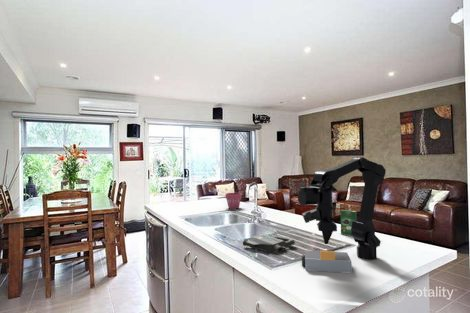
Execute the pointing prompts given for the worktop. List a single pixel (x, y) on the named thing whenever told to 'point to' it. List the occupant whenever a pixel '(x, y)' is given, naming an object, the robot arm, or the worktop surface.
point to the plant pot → (233, 200)
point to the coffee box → (347, 221)
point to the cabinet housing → (317, 255)
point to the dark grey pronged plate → (269, 243)
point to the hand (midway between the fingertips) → (326, 243)
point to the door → (328, 263)
